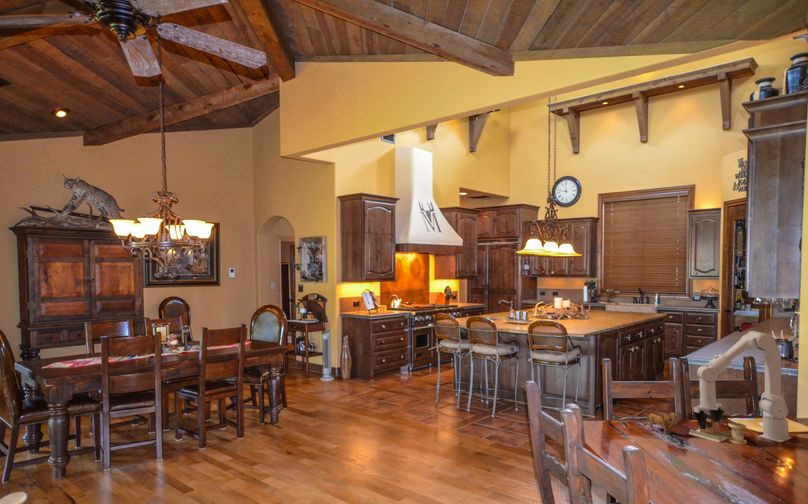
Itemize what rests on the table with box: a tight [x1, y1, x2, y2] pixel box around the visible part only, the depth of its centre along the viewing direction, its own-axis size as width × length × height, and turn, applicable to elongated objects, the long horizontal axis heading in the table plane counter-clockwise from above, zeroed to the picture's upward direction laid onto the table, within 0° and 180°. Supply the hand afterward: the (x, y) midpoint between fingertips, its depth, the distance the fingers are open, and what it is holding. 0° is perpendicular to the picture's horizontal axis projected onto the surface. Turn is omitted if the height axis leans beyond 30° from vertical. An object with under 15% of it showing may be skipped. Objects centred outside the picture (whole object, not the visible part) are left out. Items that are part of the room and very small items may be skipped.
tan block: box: [700, 417, 720, 436], centre depth 206 cm, size 4×6×6 cm, turn 20°
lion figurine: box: [642, 412, 679, 435], centre depth 213 cm, size 15×5×9 cm, turn 40°
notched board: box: [688, 426, 731, 443], centre depth 206 cm, size 9×12×2 cm
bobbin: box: [728, 421, 748, 446], centre depth 198 cm, size 6×6×7 cm
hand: (709, 427), depth 206 cm, fingers open, 7 cm apart
